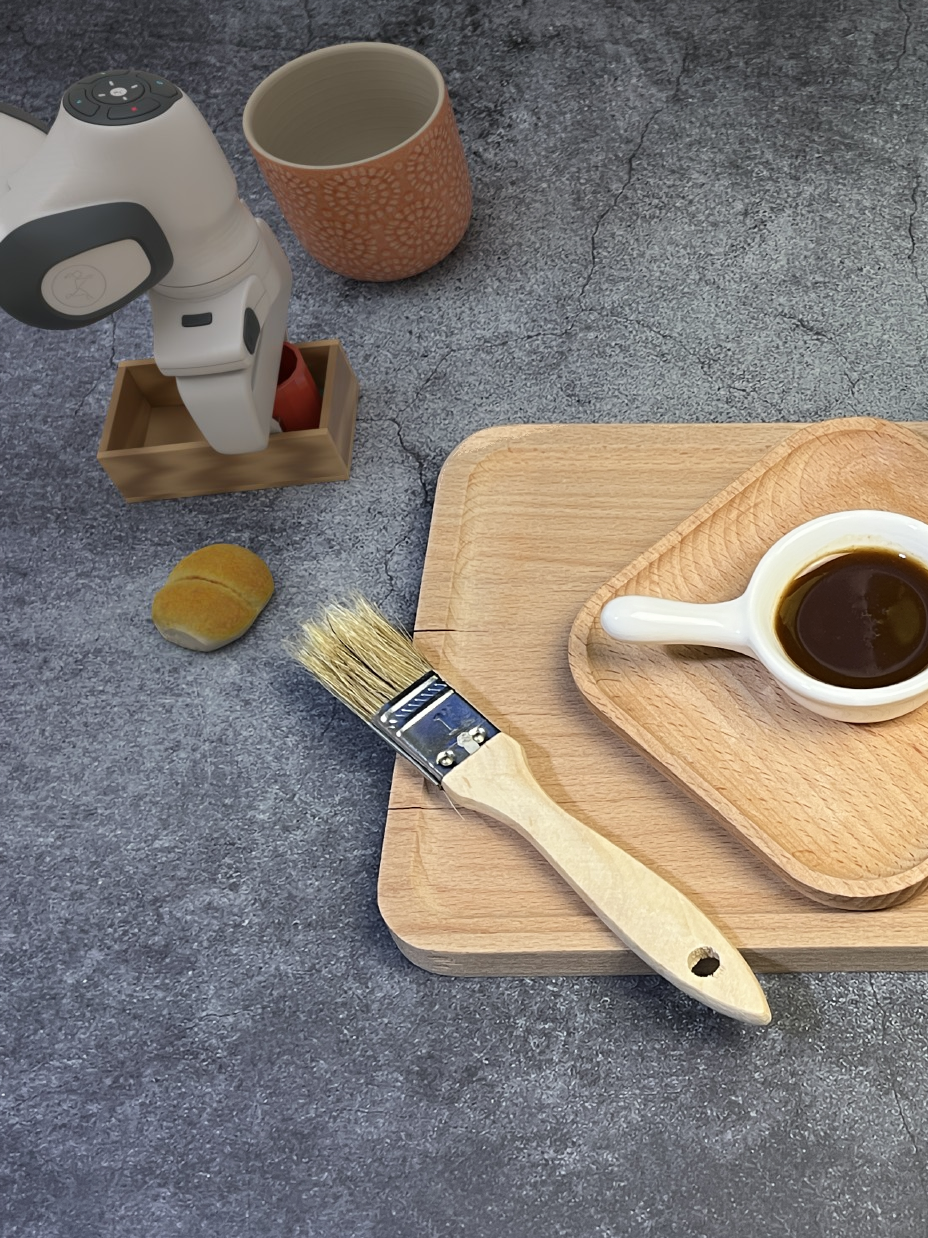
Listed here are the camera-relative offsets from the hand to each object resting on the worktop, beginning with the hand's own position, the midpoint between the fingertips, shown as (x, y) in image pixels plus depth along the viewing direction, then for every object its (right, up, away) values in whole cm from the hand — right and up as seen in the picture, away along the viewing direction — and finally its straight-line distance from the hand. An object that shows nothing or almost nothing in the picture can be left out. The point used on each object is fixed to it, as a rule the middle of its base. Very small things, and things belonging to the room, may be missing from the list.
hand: (281, 403), depth 123 cm
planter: (+5, +17, +16) cm, 24 cm away
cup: (0, -2, +3) cm, 3 cm away
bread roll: (-2, -17, -6) cm, 18 cm away
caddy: (-4, -3, +3) cm, 6 cm away
